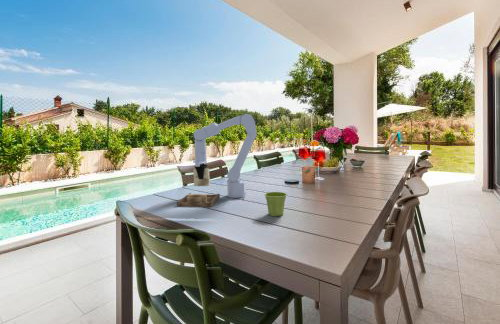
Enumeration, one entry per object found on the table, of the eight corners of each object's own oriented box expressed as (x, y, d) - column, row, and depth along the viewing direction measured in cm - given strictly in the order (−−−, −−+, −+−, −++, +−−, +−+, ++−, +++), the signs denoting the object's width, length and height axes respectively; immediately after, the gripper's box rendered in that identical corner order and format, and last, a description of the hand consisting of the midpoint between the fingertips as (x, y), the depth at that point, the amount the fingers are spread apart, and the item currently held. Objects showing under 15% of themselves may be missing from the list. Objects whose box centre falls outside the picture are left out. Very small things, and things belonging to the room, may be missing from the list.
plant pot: (260, 215, 117) (260, 195, 116) (270, 210, 125) (269, 190, 124) (282, 219, 112) (282, 197, 111) (290, 212, 121) (290, 192, 120)
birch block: (209, 185, 148) (209, 168, 147) (209, 186, 146) (208, 168, 145) (194, 185, 149) (194, 168, 148) (193, 185, 147) (193, 168, 146)
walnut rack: (219, 199, 145) (219, 193, 145) (211, 209, 127) (211, 202, 127) (189, 198, 147) (189, 193, 147) (177, 208, 129) (177, 202, 129)
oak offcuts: (206, 203, 133) (206, 194, 133) (205, 205, 130) (205, 195, 130) (188, 203, 134) (188, 194, 134) (186, 205, 131) (186, 195, 131)
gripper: (196, 151, 153) (197, 176, 155) (188, 153, 139) (189, 181, 140) (209, 151, 153) (210, 176, 154) (202, 153, 138) (203, 181, 140)
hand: (201, 178), depth 147 cm, fingers closed on birch block, 1 cm apart
